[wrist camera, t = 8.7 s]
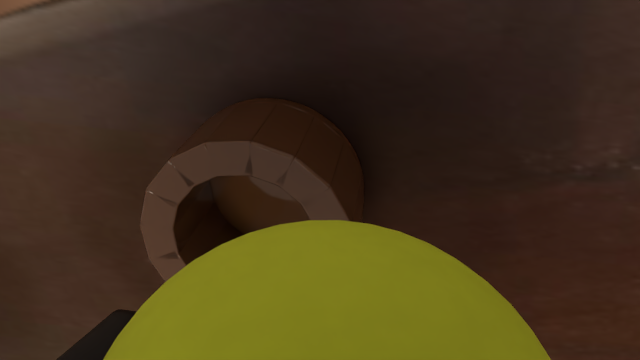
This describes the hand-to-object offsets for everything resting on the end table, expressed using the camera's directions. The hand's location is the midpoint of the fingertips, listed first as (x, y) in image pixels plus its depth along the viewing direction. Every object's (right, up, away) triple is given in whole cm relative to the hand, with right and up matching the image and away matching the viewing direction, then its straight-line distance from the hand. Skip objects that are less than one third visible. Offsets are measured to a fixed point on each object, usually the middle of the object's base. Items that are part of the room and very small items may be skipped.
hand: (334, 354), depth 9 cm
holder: (-2, +3, +13) cm, 13 cm away
